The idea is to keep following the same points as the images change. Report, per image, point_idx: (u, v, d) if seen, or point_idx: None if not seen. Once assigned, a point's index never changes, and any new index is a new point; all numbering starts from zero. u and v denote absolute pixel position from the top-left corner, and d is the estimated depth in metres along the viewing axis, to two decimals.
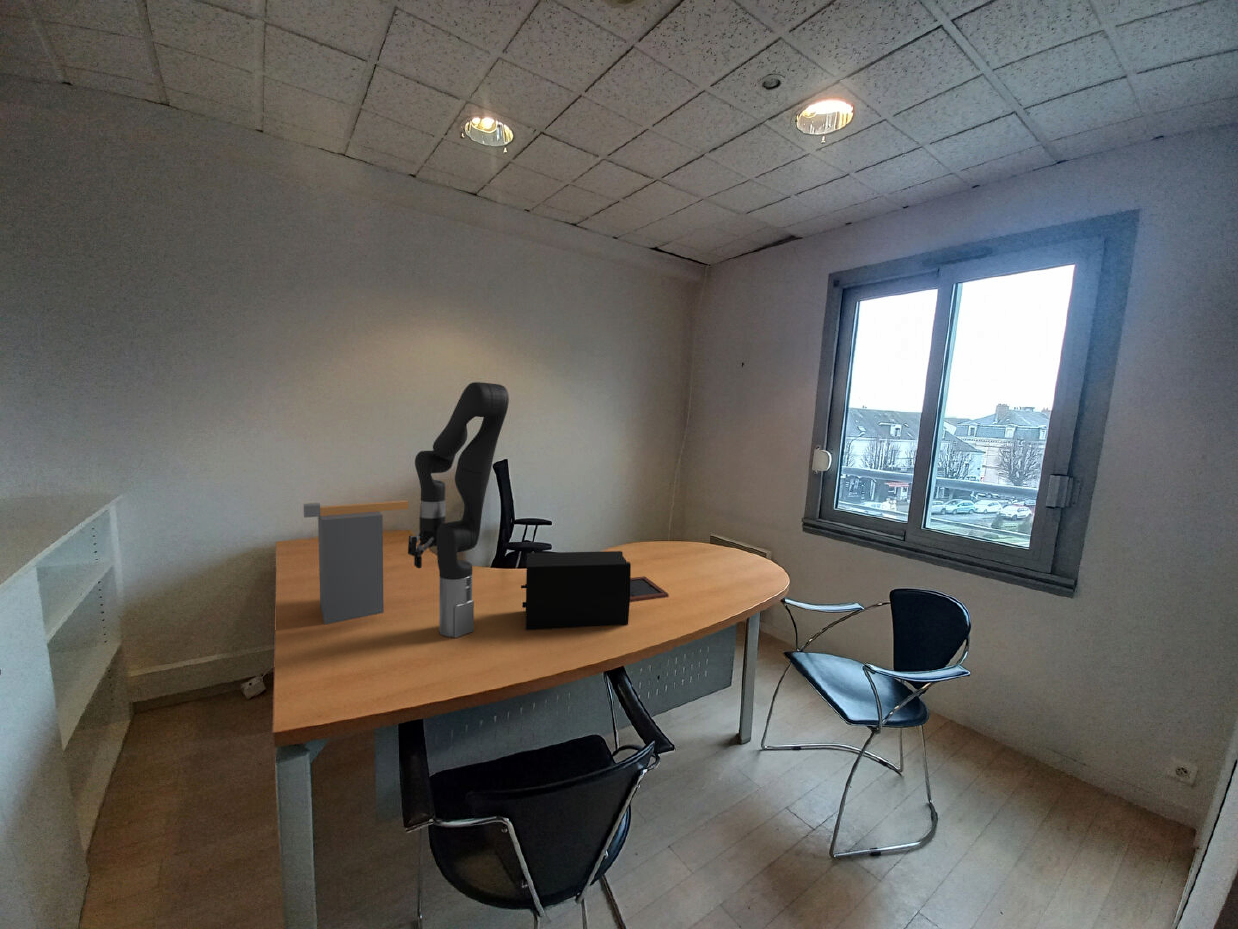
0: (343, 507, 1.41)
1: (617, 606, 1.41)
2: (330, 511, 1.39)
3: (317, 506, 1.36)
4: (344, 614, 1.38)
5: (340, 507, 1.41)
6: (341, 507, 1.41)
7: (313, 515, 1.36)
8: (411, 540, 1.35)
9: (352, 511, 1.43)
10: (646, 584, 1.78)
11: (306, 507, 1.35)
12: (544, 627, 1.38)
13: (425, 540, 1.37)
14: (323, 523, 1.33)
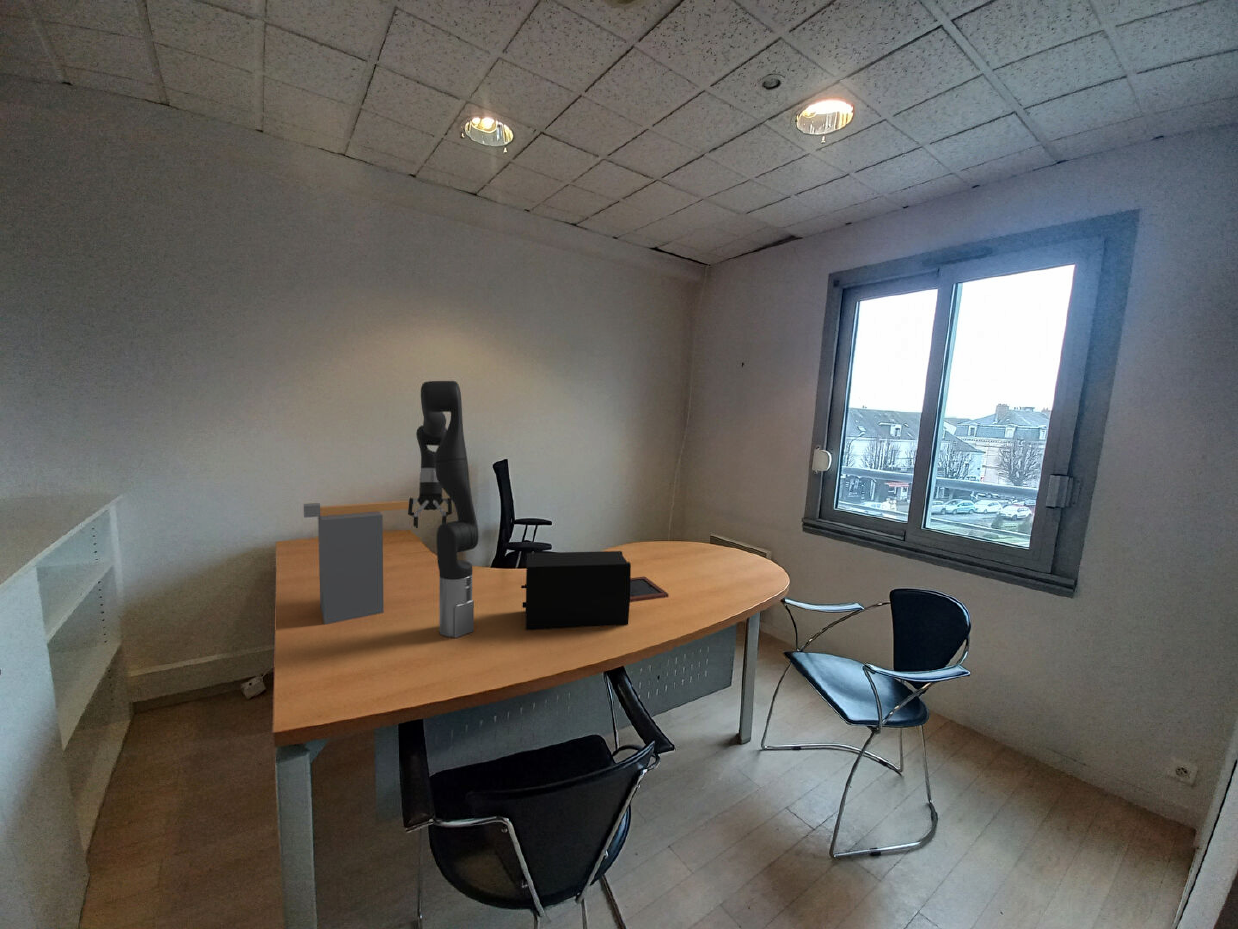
0: (343, 507, 1.41)
1: (617, 606, 1.41)
2: (330, 511, 1.39)
3: (317, 506, 1.36)
4: (344, 614, 1.38)
5: (340, 507, 1.41)
6: (341, 507, 1.41)
7: (313, 515, 1.36)
8: None
9: (352, 511, 1.43)
10: (646, 584, 1.78)
11: (306, 507, 1.35)
12: (544, 627, 1.38)
13: None
14: (323, 523, 1.33)
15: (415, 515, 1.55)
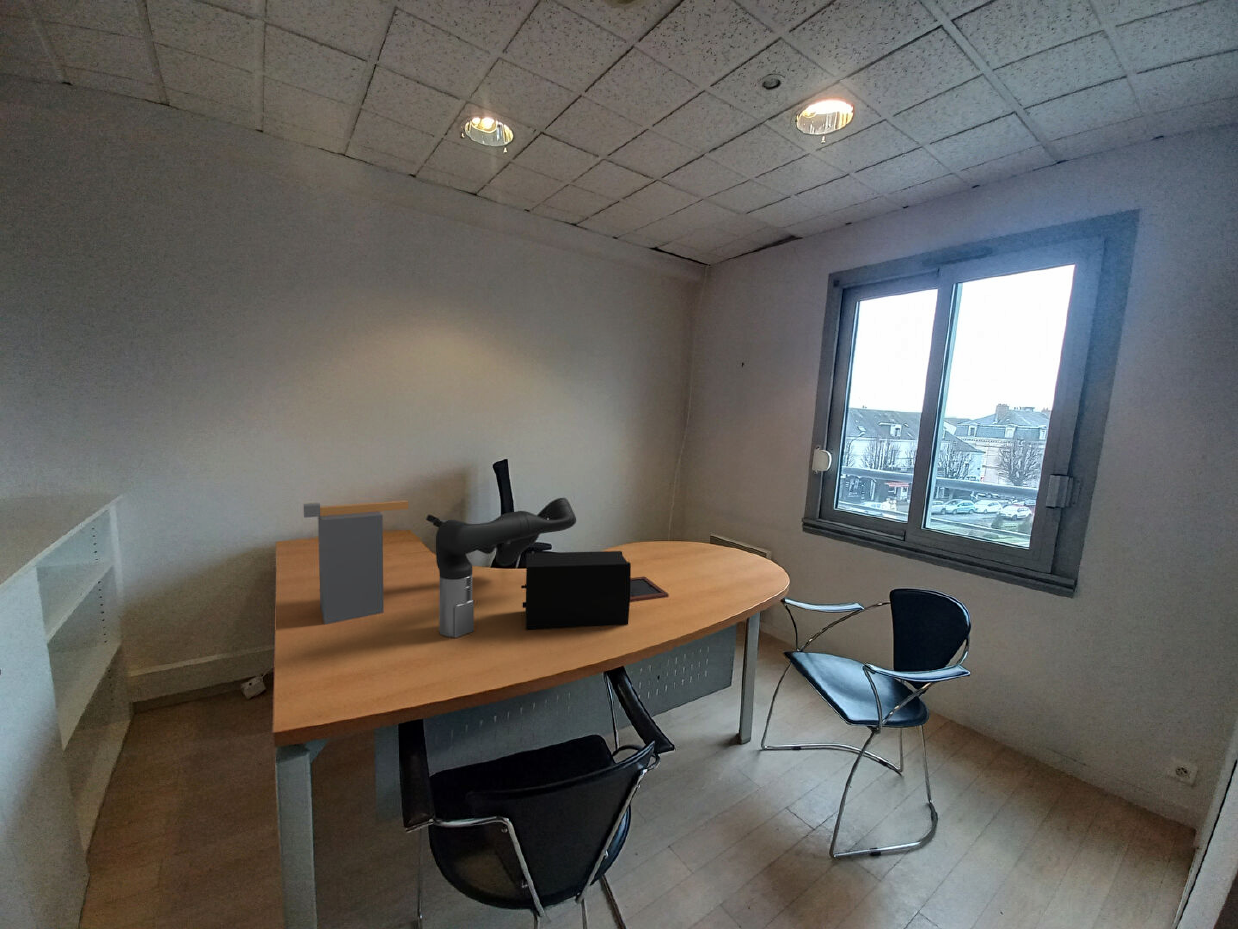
0: (343, 507, 1.41)
1: (617, 606, 1.41)
2: (330, 511, 1.39)
3: (317, 506, 1.36)
4: (344, 614, 1.38)
5: (340, 507, 1.41)
6: (341, 507, 1.41)
7: (313, 515, 1.36)
8: None
9: (352, 511, 1.43)
10: (646, 584, 1.78)
11: (306, 507, 1.35)
12: (544, 627, 1.38)
13: None
14: (323, 523, 1.33)
15: (439, 518, 1.65)
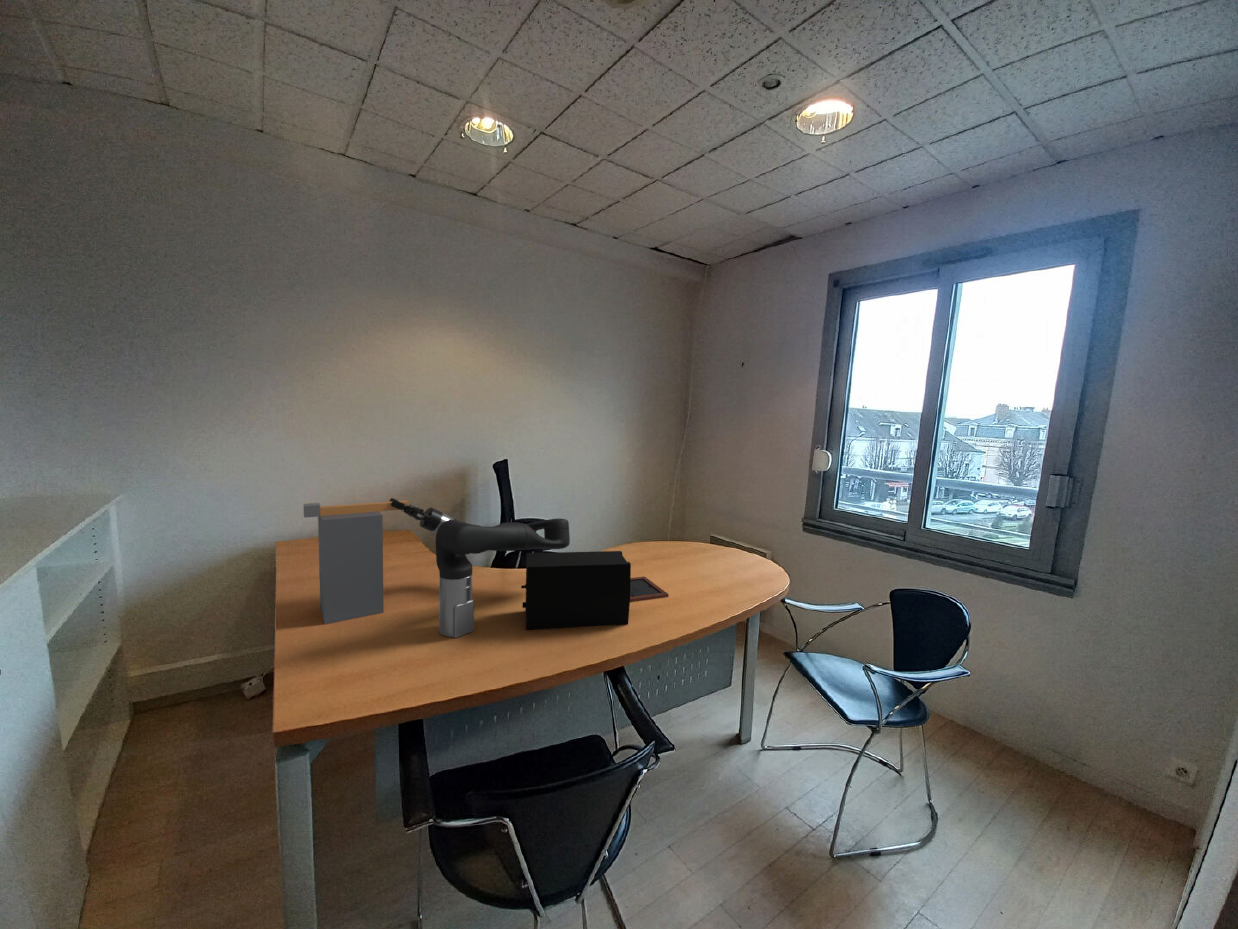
0: (343, 507, 1.41)
1: (617, 606, 1.41)
2: (330, 511, 1.39)
3: (317, 506, 1.36)
4: (344, 614, 1.38)
5: (340, 507, 1.40)
6: (341, 507, 1.41)
7: (313, 515, 1.36)
8: (418, 516, 1.50)
9: (352, 511, 1.43)
10: (646, 584, 1.78)
11: (306, 507, 1.35)
12: (544, 627, 1.38)
13: None
14: (323, 523, 1.33)
15: None
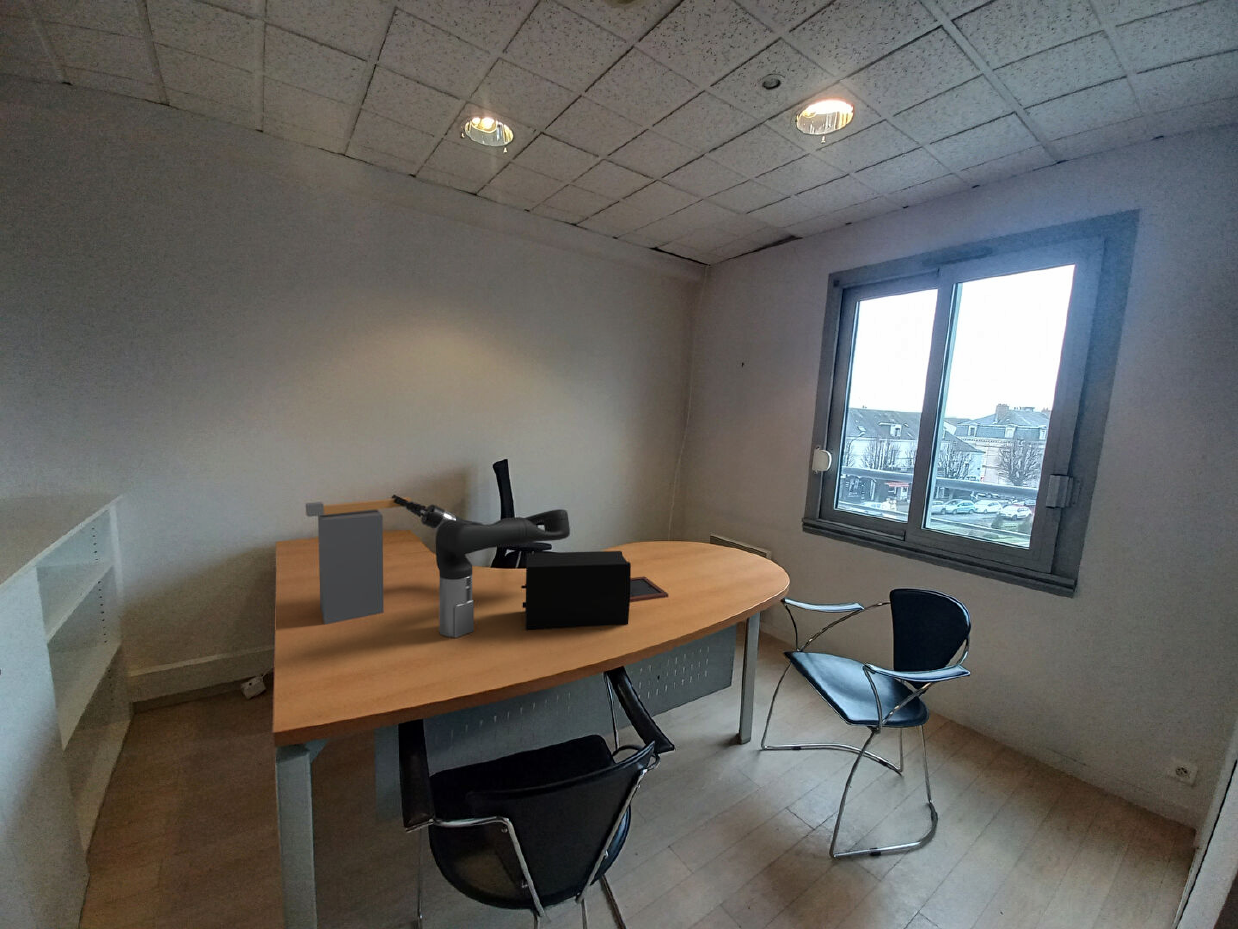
0: (346, 505, 1.39)
1: (617, 606, 1.41)
2: (333, 509, 1.37)
3: (320, 505, 1.35)
4: (344, 614, 1.38)
5: (343, 505, 1.39)
6: (344, 505, 1.39)
7: (316, 514, 1.34)
8: (422, 512, 1.50)
9: (355, 509, 1.41)
10: (646, 584, 1.78)
11: (309, 506, 1.33)
12: (544, 627, 1.38)
13: None
14: (323, 523, 1.33)
15: None
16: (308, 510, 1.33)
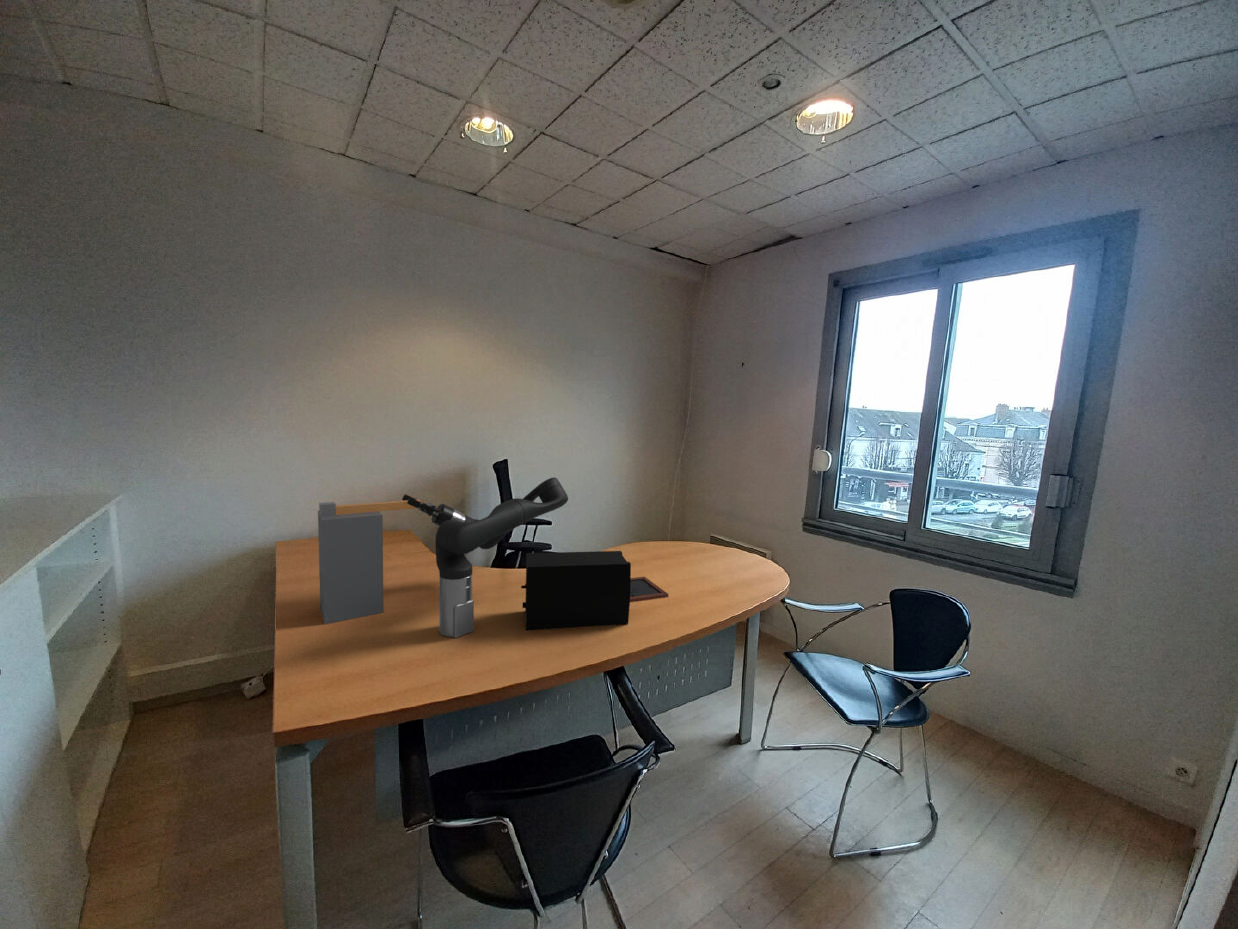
0: (358, 506, 1.43)
1: (617, 606, 1.41)
2: (345, 510, 1.41)
3: (333, 505, 1.39)
4: (344, 614, 1.38)
5: (355, 506, 1.43)
6: (356, 506, 1.43)
7: (329, 514, 1.38)
8: (435, 514, 1.53)
9: (366, 510, 1.45)
10: (646, 584, 1.78)
11: (322, 506, 1.37)
12: (544, 627, 1.38)
13: (429, 513, 1.56)
14: (323, 523, 1.33)
15: (416, 498, 1.59)
16: (321, 510, 1.37)
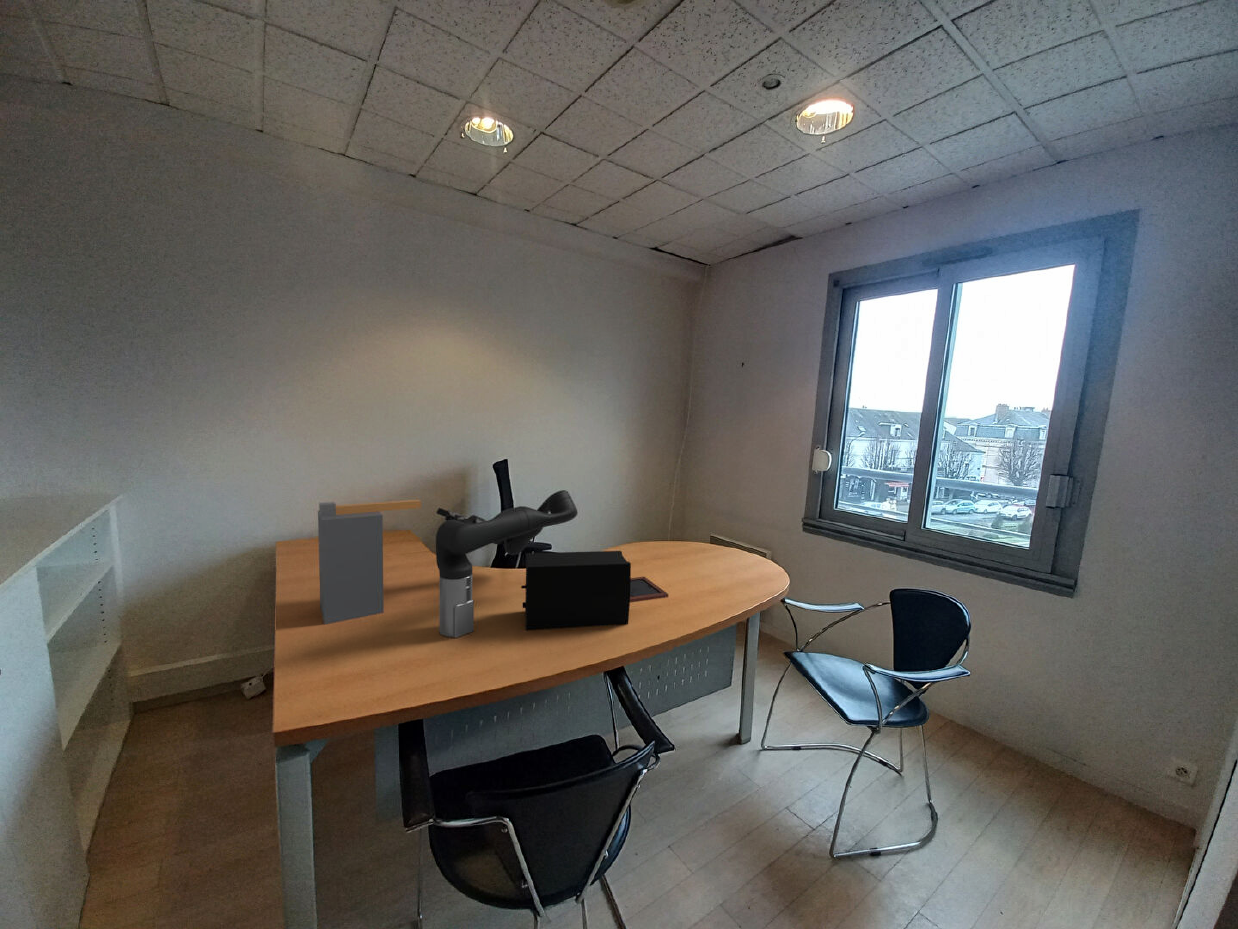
0: (358, 506, 1.43)
1: (617, 606, 1.41)
2: (345, 510, 1.41)
3: (333, 505, 1.39)
4: (344, 614, 1.38)
5: (355, 506, 1.43)
6: (356, 506, 1.43)
7: (329, 514, 1.38)
8: None
9: (366, 510, 1.45)
10: (646, 584, 1.78)
11: (322, 506, 1.37)
12: (544, 627, 1.38)
13: None
14: (323, 523, 1.33)
15: (449, 511, 1.66)
16: (321, 510, 1.37)
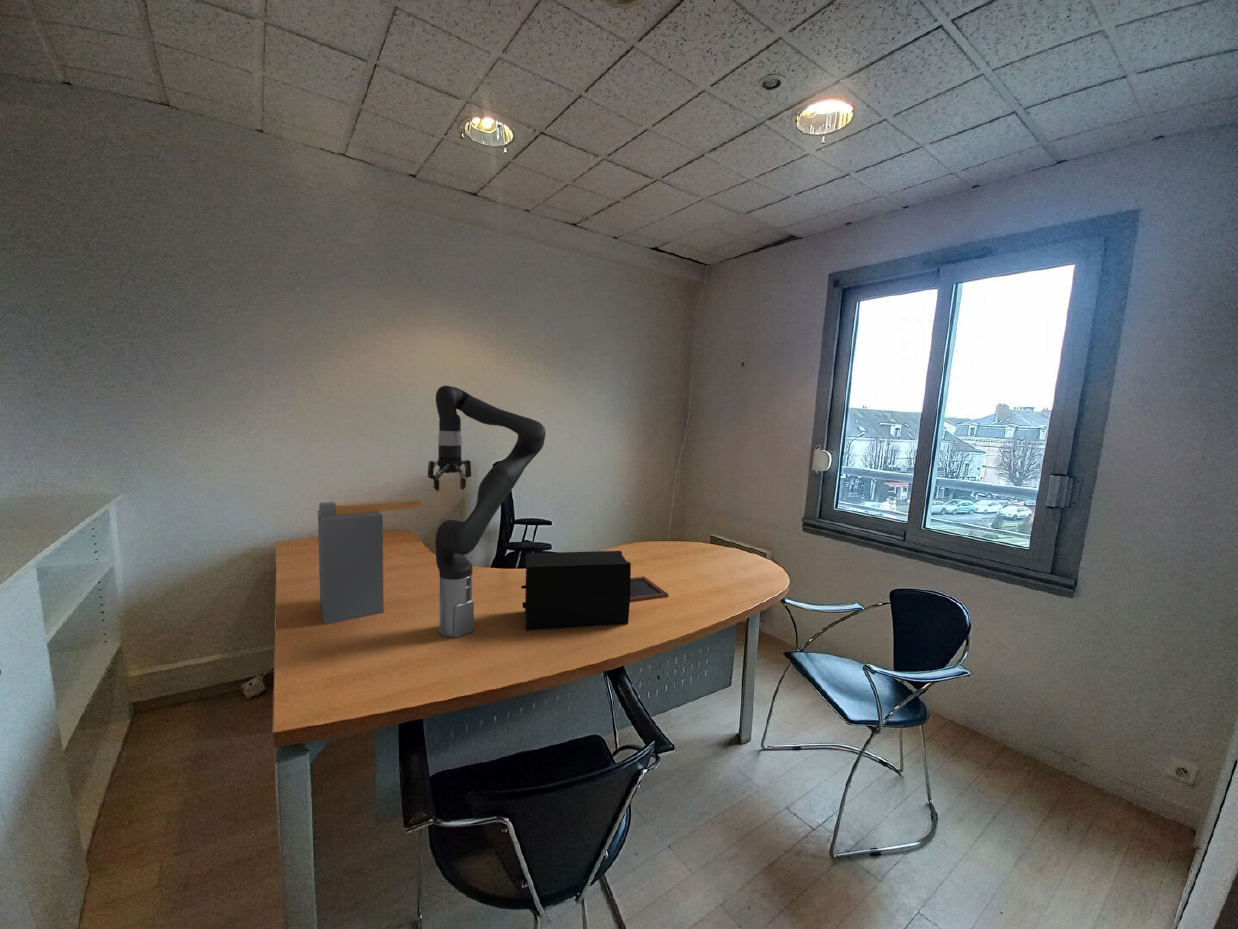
0: (358, 506, 1.43)
1: (617, 606, 1.41)
2: (345, 510, 1.41)
3: (333, 505, 1.39)
4: (344, 614, 1.38)
5: (355, 506, 1.43)
6: (356, 506, 1.43)
7: (329, 514, 1.38)
8: None
9: (366, 510, 1.45)
10: (646, 584, 1.78)
11: (322, 506, 1.37)
12: (544, 627, 1.38)
13: None
14: (323, 523, 1.33)
15: (436, 478, 1.54)
16: (321, 510, 1.37)
